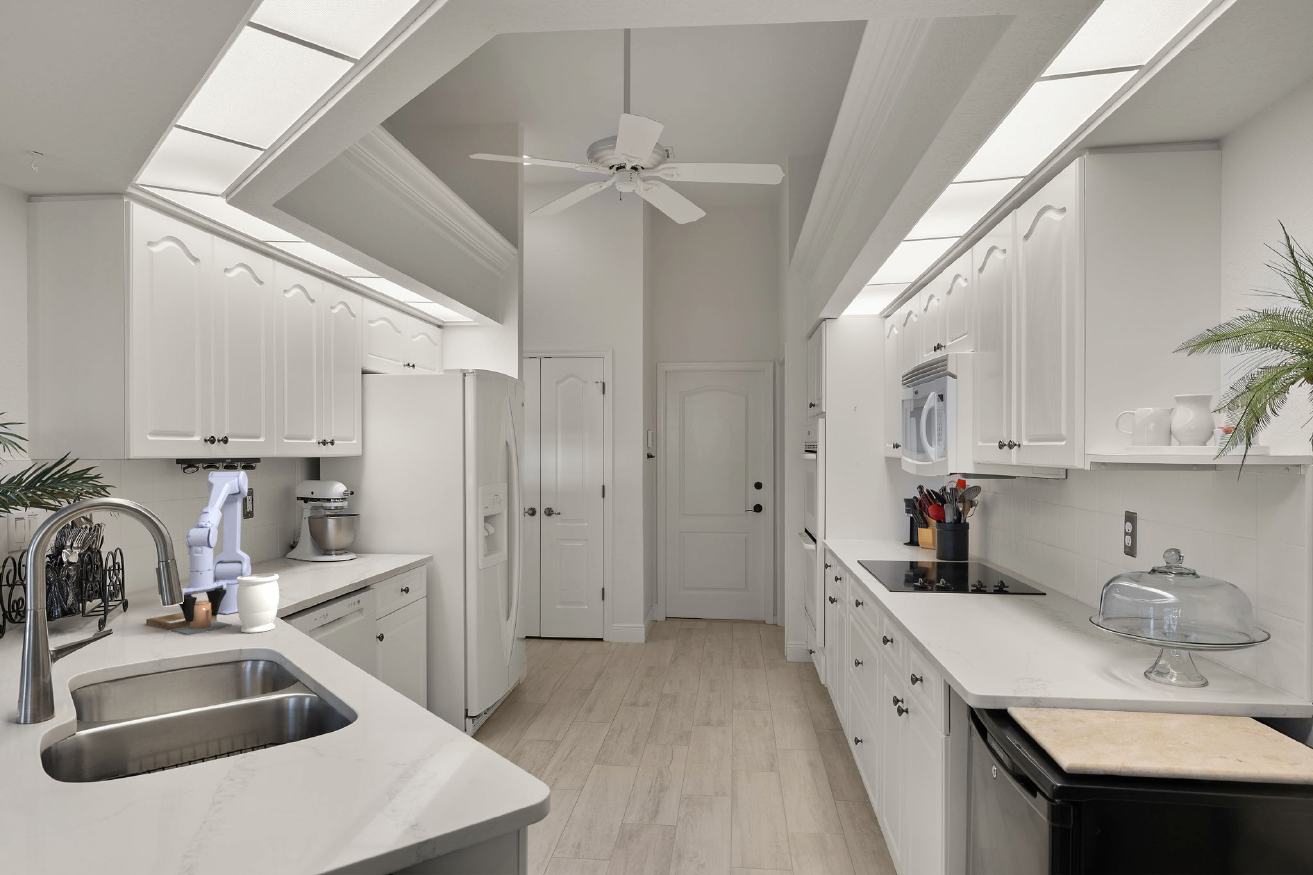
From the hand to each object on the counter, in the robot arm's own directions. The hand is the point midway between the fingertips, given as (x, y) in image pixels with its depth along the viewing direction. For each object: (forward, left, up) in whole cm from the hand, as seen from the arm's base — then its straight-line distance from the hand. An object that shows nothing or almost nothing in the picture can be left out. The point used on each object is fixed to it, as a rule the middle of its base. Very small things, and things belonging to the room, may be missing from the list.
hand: (201, 618), depth 209 cm
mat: (0, 0, -3) cm, 3 cm away
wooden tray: (-1, -13, -3) cm, 13 cm away
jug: (0, 0, -2) cm, 2 cm away
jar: (-7, +16, -3) cm, 18 cm away
